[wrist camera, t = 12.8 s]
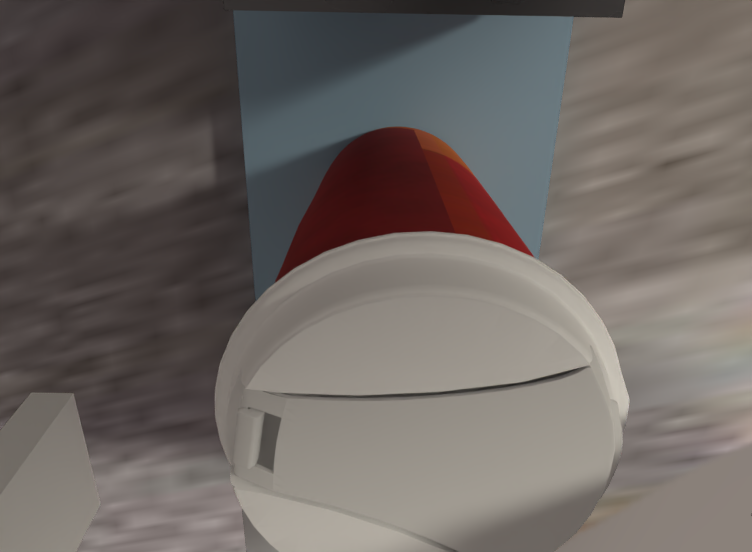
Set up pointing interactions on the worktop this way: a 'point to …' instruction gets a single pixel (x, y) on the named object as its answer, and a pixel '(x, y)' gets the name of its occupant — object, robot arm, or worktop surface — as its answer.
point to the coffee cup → (417, 372)
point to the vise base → (393, 110)
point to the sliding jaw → (441, 7)
